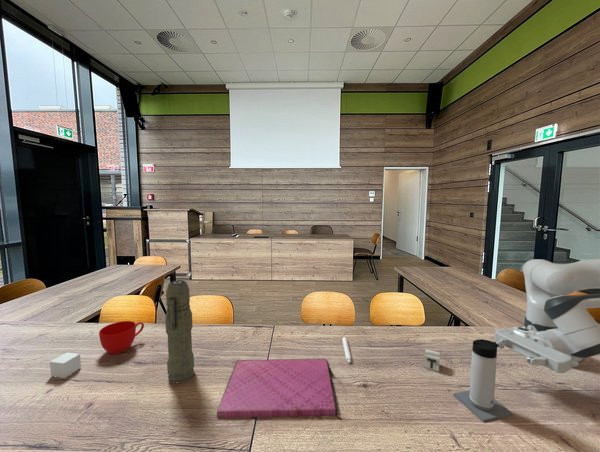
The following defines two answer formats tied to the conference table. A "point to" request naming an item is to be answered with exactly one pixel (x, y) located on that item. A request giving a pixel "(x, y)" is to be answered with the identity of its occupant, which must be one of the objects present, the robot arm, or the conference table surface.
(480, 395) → the travel mug
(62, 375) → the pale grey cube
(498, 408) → the slate pad
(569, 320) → the robot arm
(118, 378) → the conference table surface
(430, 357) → the lettered cube
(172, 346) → the thermos
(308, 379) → the laptop bag
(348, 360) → the marker
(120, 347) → the ceramic cup
